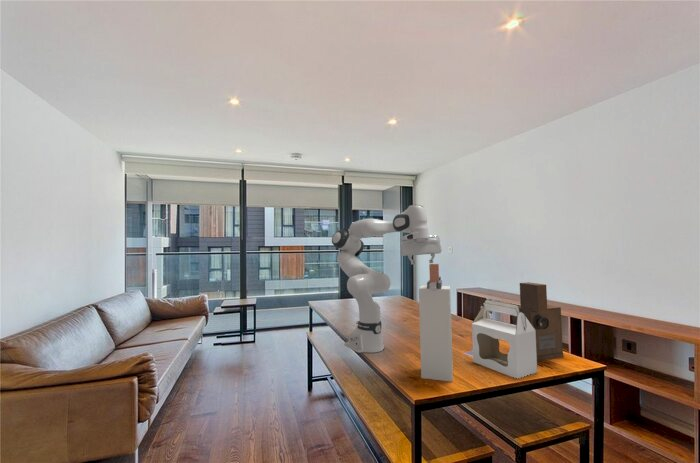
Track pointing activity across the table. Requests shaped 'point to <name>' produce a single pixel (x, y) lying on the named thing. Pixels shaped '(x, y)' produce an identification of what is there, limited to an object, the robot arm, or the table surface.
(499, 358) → the gable box
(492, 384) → the table surface
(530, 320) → the vintage camera
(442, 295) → the post
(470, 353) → the mobile phone
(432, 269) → the brown flat block
